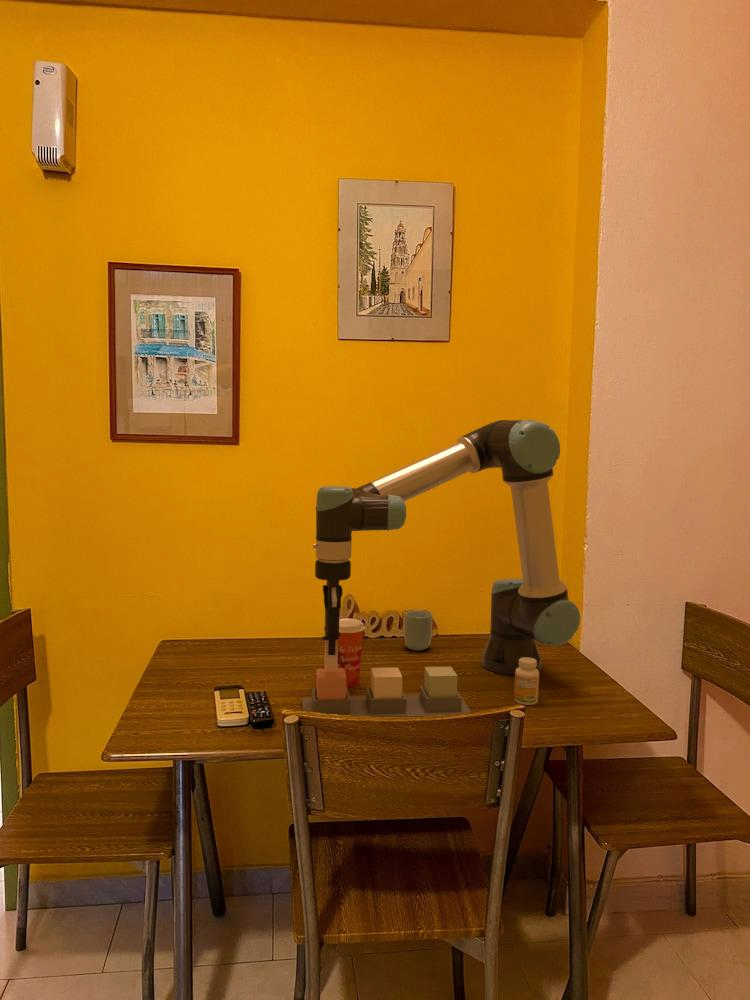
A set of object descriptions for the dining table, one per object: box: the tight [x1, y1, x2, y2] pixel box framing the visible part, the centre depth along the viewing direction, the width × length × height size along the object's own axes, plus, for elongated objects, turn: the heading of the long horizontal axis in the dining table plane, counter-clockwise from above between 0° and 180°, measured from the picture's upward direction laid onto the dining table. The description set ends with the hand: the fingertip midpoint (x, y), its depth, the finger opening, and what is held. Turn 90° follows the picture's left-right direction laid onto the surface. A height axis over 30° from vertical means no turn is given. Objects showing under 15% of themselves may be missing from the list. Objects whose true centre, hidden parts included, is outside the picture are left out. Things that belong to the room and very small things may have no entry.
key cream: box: [370, 667, 403, 699], centre depth 162 cm, size 6×6×5 cm
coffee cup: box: [337, 617, 366, 688], centre depth 178 cm, size 8×8×15 cm
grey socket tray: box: [301, 685, 472, 717], centre depth 162 cm, size 36×12×4 cm, turn 97°
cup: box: [403, 609, 434, 652], centre depth 207 cm, size 8×8×10 cm
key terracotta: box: [315, 668, 346, 700], centre depth 160 cm, size 6×6×5 cm
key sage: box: [423, 666, 458, 697], centre depth 163 cm, size 6×6×5 cm
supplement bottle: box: [513, 657, 540, 706], centre depth 170 cm, size 5×5×10 cm
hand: (330, 667), depth 160 cm, fingers closed
